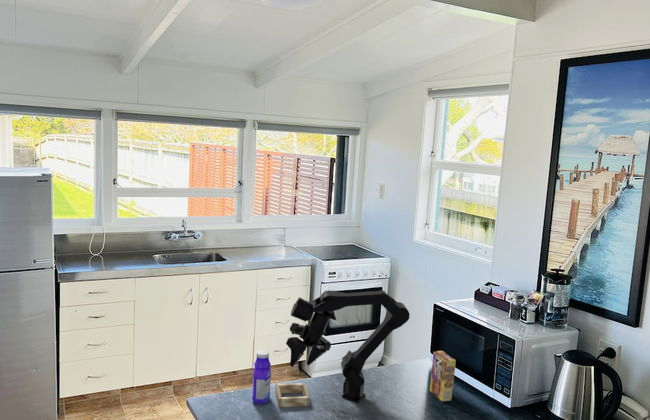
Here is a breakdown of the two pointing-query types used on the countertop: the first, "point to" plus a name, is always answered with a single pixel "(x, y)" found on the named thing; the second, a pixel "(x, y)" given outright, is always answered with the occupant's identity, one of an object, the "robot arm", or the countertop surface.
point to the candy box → (442, 375)
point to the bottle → (261, 378)
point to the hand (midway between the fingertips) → (299, 365)
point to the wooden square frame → (292, 400)
